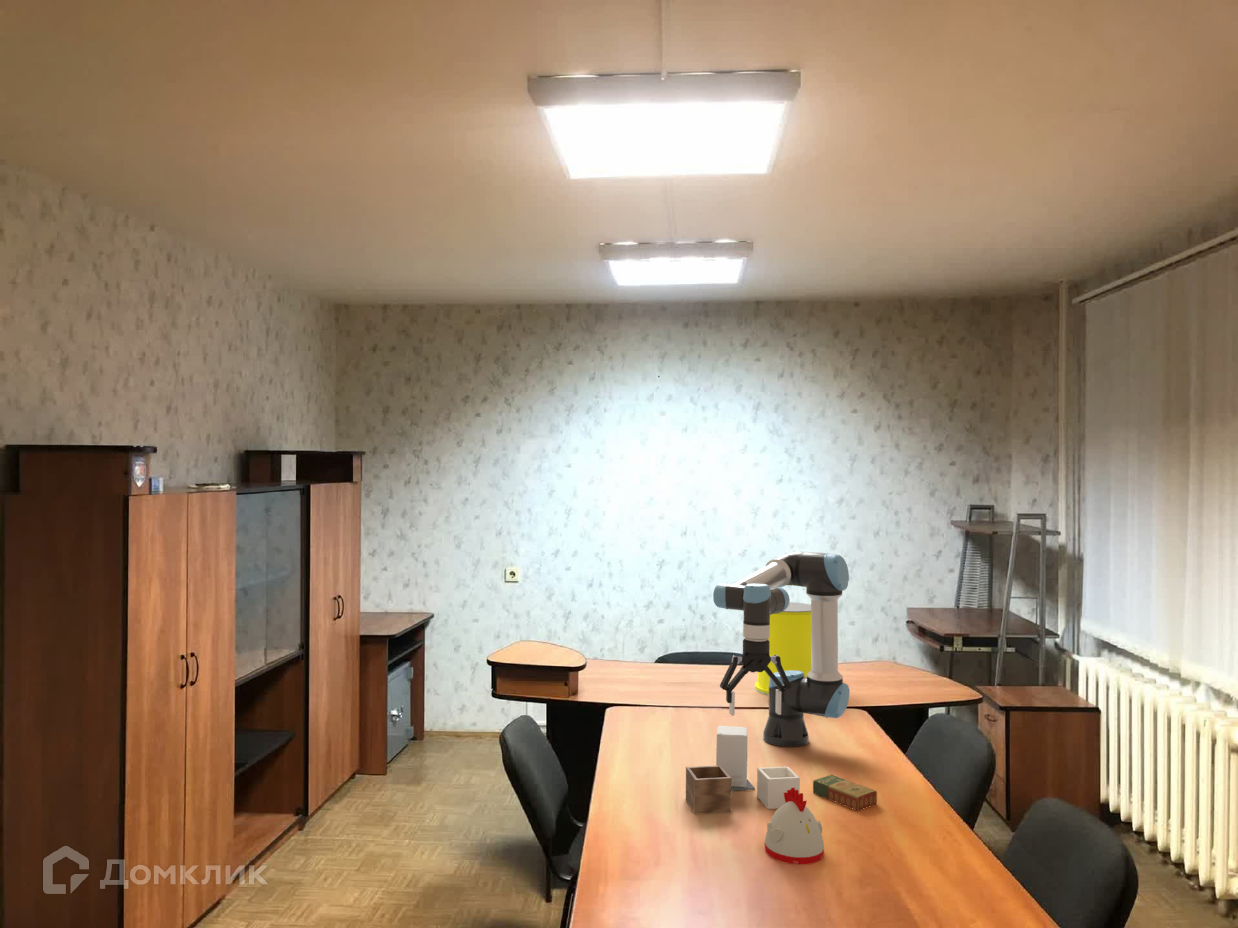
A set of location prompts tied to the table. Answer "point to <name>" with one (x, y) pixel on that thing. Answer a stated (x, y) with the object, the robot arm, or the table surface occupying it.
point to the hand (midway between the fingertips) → (755, 713)
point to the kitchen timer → (794, 832)
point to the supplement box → (733, 753)
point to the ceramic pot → (775, 785)
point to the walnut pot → (708, 789)
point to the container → (789, 642)
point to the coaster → (748, 787)
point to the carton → (845, 792)
